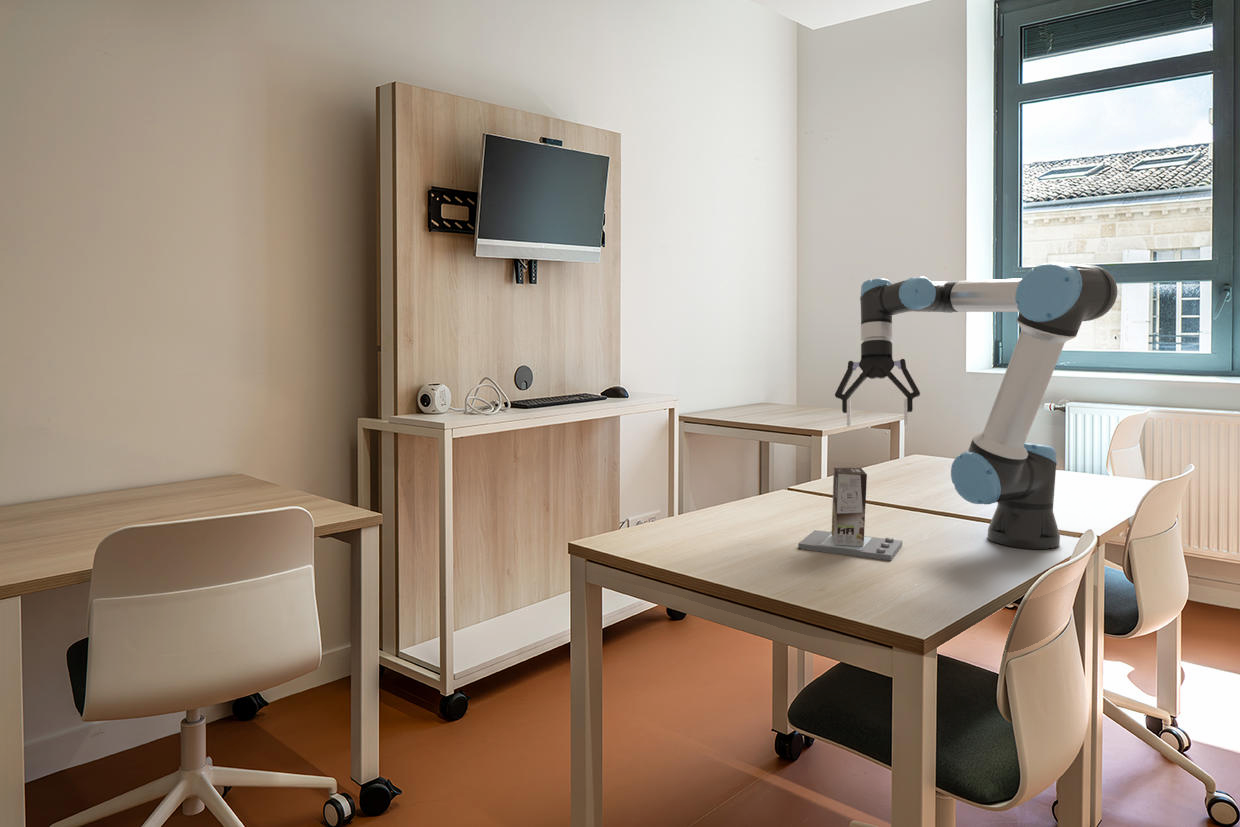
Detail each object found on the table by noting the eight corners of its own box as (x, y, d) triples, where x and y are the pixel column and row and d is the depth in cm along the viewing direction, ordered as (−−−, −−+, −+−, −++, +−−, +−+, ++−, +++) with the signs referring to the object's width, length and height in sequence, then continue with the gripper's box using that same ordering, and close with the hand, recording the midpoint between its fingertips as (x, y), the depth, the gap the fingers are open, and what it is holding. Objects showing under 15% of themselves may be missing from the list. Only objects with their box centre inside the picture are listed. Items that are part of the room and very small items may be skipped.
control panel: (902, 545, 194) (902, 538, 193) (890, 560, 181) (891, 552, 181) (814, 535, 203) (814, 527, 203) (798, 548, 190) (798, 540, 190)
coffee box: (864, 547, 187) (867, 474, 186) (834, 545, 188) (837, 473, 186) (859, 536, 196) (862, 467, 195) (830, 535, 197) (833, 466, 195)
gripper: (929, 342, 214) (930, 426, 212) (827, 346, 223) (827, 427, 220) (929, 336, 207) (930, 423, 205) (823, 340, 216) (824, 424, 213)
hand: (877, 426), depth 212 cm, fingers open, 13 cm apart
